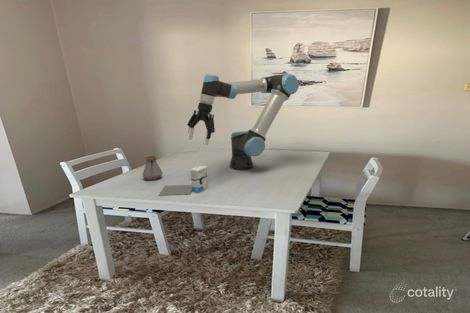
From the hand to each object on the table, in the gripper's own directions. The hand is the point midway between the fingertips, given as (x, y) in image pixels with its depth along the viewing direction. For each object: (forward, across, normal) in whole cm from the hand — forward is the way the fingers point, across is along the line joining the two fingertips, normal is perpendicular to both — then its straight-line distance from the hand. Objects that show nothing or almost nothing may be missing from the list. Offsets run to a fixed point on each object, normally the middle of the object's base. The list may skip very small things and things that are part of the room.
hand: (197, 142), depth 164 cm
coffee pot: (+28, -20, -8) cm, 36 cm away
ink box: (+23, +12, -2) cm, 26 cm away
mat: (+26, +4, -10) cm, 28 cm away
